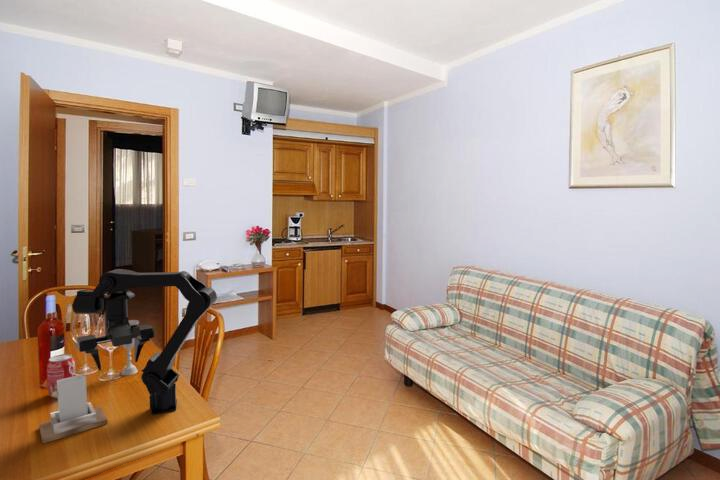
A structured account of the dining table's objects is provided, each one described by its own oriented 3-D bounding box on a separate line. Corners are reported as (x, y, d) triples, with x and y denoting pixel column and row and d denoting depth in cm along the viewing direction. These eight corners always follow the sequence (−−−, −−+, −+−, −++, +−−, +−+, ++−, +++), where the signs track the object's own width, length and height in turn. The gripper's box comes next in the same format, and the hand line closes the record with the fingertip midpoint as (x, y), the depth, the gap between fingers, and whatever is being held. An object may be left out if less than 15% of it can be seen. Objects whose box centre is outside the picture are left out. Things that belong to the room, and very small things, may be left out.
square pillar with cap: (85, 414, 112) (83, 372, 111) (88, 421, 108) (86, 378, 107) (53, 423, 107) (50, 380, 106) (55, 431, 103) (52, 387, 102)
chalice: (135, 366, 147) (133, 318, 145) (144, 371, 143) (143, 322, 141) (114, 373, 141) (112, 323, 139) (123, 378, 137) (121, 327, 135)
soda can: (72, 387, 130) (70, 351, 129) (79, 393, 126) (77, 357, 125) (45, 394, 125) (43, 357, 124) (51, 402, 120) (49, 363, 119)
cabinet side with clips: (100, 410, 116) (100, 398, 116) (107, 423, 110) (106, 411, 109) (39, 428, 107) (38, 415, 106) (42, 443, 100) (41, 430, 100)
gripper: (81, 326, 103) (84, 385, 104) (159, 313, 115) (161, 366, 117) (75, 317, 111) (77, 371, 112) (148, 306, 123) (150, 355, 125)
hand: (118, 365), depth 116 cm, fingers open, 9 cm apart
